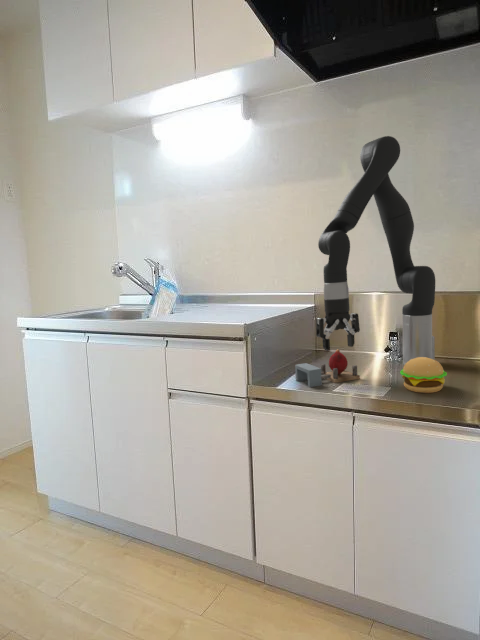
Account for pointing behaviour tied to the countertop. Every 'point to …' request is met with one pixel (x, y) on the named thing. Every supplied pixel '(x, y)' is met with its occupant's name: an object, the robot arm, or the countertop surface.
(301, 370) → the housing
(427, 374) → the hamburger
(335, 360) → the onion
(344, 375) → the pin seat
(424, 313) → the robot arm
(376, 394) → the countertop surface
